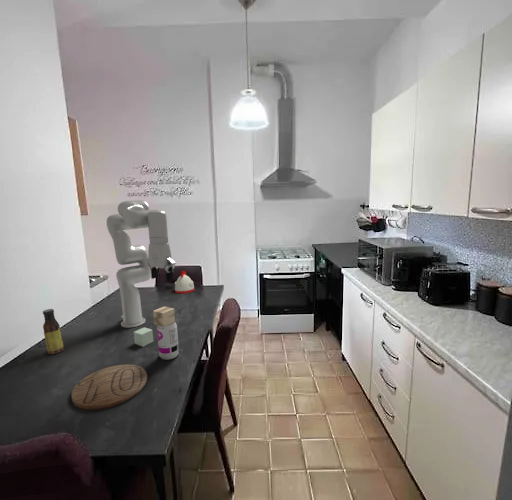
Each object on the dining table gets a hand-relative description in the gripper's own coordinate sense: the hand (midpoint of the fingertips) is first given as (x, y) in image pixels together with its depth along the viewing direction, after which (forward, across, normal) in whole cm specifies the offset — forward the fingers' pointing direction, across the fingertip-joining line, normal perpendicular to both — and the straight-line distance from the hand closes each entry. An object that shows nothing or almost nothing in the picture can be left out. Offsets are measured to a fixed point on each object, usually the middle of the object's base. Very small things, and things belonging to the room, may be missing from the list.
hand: (162, 279), depth 134 cm
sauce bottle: (+34, -44, -28) cm, 62 cm away
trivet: (+33, +4, -30) cm, 45 cm away
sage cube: (+33, -15, -2) cm, 36 cm away
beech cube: (+18, +5, -4) cm, 19 cm away
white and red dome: (+34, -60, +67) cm, 96 cm away
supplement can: (+33, +5, -4) cm, 33 cm away
